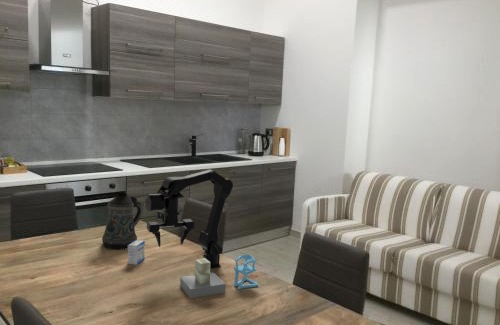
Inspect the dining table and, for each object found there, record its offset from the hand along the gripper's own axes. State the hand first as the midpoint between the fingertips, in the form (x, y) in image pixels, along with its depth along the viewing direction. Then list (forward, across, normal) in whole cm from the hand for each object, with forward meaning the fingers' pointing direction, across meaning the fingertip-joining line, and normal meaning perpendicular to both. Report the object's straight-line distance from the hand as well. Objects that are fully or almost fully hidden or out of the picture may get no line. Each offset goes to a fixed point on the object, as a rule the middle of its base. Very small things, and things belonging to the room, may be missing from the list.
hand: (170, 245), depth 181 cm
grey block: (+13, -8, +18) cm, 23 cm away
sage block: (+9, -8, +18) cm, 22 cm away
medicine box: (+13, +10, -19) cm, 25 cm away
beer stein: (+13, +12, -45) cm, 48 cm away
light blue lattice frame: (+13, -25, +20) cm, 34 cm away
